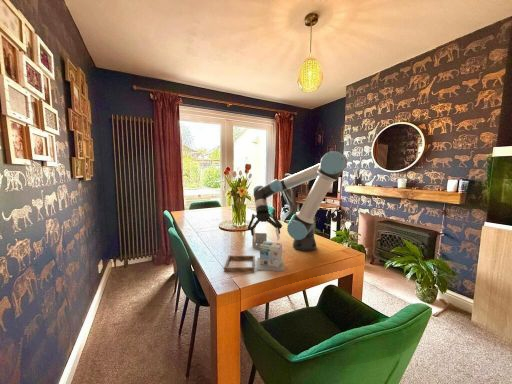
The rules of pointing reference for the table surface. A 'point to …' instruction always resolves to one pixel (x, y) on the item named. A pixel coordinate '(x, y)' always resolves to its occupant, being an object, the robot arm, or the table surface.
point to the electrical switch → (259, 239)
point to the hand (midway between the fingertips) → (266, 239)
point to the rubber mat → (269, 267)
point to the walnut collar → (239, 269)
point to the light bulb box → (271, 253)
